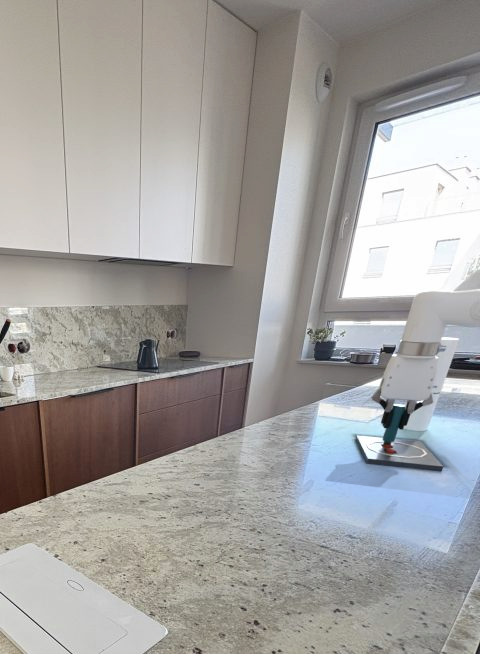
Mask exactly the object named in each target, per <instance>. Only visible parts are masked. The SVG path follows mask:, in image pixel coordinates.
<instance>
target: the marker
mask: <svg viewBox="0 0 480 654" xmlns="http://www.w3.org/2000/svg"><path fill="white" fill-rule="evenodd" d="M405 405H406V404H401V403H400V404H399V403H394V404H393V407H392V413H393V414H392V417H391V420H390V423H389V426H388V428H385V429H384V433H383V436H382V438H383V439H382V440H383V441H384V443H383V444H384V445H391V442H394V440H395V439H396V438H397V434H398V431H399V425H400V422H401V419H402V416H403V413H404V410H405V407H406V406H405Z"/></svg>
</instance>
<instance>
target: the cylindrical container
mask: <svg viewBox="0 0 480 654" xmlns="http://www.w3.org/2000/svg"><path fill="white" fill-rule="evenodd" d="M459 341H460V338H457V337H443V336H442V339H441V342H440V343H441V345H446V350H445V351H444V352H439V353H438V354H437V355H436V357H438V366H437V371H436V376H435V380H434V384H433V388H432V391H431V393H432V398H433V403H432V404H430V405H426V406H422V407H421V408H419V409H417V410H416V411H414V412H413V413H412V414H410V417H409V420H408V423H407V425H406V426H404V428H403V430H408V431H412V432H413V431H414V432H424V431H428V429H429V426H430V423H431V421H432V418H433V414H434V412H435V409H436V407H437V404H438V401H439V398H440V395H441V392H442V389H443V387H444V383H445V381H446V378H447V376H448V372H449V370H450V367H451V364H452V361H453V358H454V355H455V352H456V350H457V347H458V344H459ZM416 402H418V401H416ZM406 404H407V401H405V404H404V405H405V406H406ZM405 408H406V407H405Z"/></svg>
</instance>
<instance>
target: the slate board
mask: <svg viewBox="0 0 480 654" xmlns="http://www.w3.org/2000/svg"><path fill="white" fill-rule="evenodd" d="M382 439H383V437H377V436H365V435H356V437H355V442H356V444H357V446H358V448H359V451H360V453H361V455H362V457H363V459H364V462H365V464H370V465H379V466H389V467H397V468H407V469H415V470H416V469H417V470H425V469H426V470H425V471H435V472H443V468H444V465H443V464H442V463H441V462H440V461H439V459H437V458H436V456H435V455H434V454H433V453H432V452H431V451H430V450H429V448H428V447H426V445H425V444H424V443H423V442H422V441H421V440H414V439H413V440H412V439H402V438H401V439H400V438H395V440H394V442H391V445H392V446H391V448H387V447H383V443H384V441H383V440H382ZM387 449H393V450H395V453H386V450H387Z"/></svg>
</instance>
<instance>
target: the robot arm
mask: <svg viewBox="0 0 480 654" xmlns="http://www.w3.org/2000/svg"><path fill="white" fill-rule="evenodd" d="M447 326H454V327H455V326H456V327H462V328H479V327H480V266H479V267H478V268H477V269H475V270H474V271H473V272H472V273H471V274H470V275H469V276H467V278H465V279H464V280H463V281H462V282H461V283H460V284H459V285H458V286H457V287H455V289H453V290H450V289H426V290H421V291H418V292H417V293H416V294H415V295H414V297H413V299H412V303H411V306H410V309H409V312H408V316H407V319H406V322H405V325H404V328H403V332H402V335H401V339H400V342H399V344H398V349H397V351H396V354H392V355H391V356H390V358H389V361H388V362H387V365H386V367H385V369H384V372H383V374H382V377H381V380H380V383H379V386H378V388H377V390H376V391H374V393H373V394H372V395H371V397H370V399H371V400H372V401H373V402H375V403H377V404H379V405H380V407H381V408H382V409H383V414H382V417H381V420H380V424H381V425H382V427H383V429H386V428H388V426H389V423H390V420H391V417H392V414H393V413H392V407H393V405H394V404H395V402H396V401H406V402H407V404H406V403H405V405H406V408H405V410H404V413H403V416H402V419H401V422H400V425H399V428H398V430H400V431H402V430H404V429H403V428H404V426H406V425H407V423H408V420H409V417H410V414H412V413H413V412H414V411H416V410H417V409H419V408H421V407H422V406H426V405H430V404H432V403H433V398H432V393H431V391H432V388H433V384H434V380H435V376H436V371H437V366H438V357H436V355H437V354H438V353H439V352H444V351H445V350H446V345H441V343H440V342H441V339H442V337H443V336H444V333H445V330H446V327H447ZM416 401H418V402H416Z"/></svg>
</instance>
